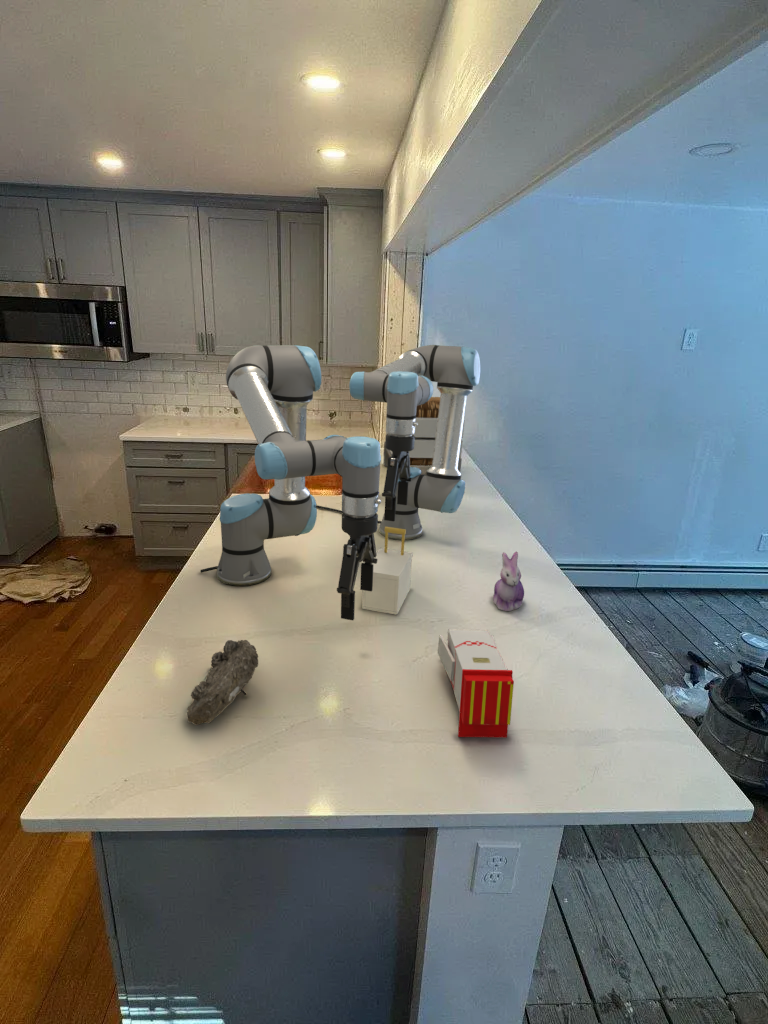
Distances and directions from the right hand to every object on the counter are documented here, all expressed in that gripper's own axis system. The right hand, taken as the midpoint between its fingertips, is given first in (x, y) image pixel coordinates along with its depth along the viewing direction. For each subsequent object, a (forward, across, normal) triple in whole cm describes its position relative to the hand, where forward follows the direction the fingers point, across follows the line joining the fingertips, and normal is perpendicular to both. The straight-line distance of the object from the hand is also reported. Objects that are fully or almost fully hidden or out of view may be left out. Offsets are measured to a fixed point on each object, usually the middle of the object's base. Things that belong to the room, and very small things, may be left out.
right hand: (396, 512), depth 152 cm
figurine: (+23, +3, -32) cm, 40 cm away
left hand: (+10, -34, 0) cm, 35 cm away
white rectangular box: (+13, -5, 0) cm, 14 cm away
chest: (+23, -6, 0) cm, 24 cm away
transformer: (+23, +122, +18) cm, 125 cm away
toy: (+23, -39, -27) cm, 53 cm away
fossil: (+23, -55, +20) cm, 63 cm away
